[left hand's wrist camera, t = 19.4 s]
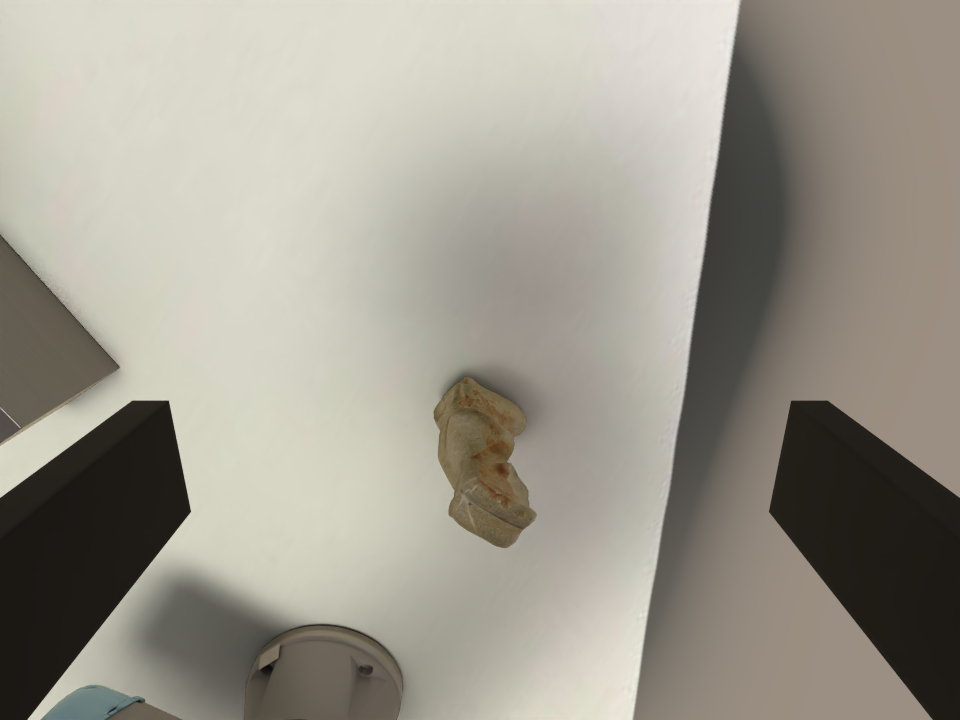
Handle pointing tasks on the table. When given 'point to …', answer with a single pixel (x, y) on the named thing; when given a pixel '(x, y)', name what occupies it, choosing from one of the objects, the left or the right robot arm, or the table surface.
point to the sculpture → (483, 462)
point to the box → (39, 350)
